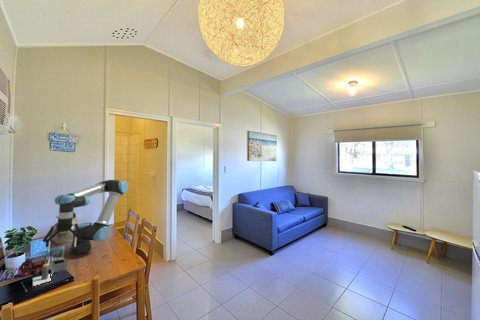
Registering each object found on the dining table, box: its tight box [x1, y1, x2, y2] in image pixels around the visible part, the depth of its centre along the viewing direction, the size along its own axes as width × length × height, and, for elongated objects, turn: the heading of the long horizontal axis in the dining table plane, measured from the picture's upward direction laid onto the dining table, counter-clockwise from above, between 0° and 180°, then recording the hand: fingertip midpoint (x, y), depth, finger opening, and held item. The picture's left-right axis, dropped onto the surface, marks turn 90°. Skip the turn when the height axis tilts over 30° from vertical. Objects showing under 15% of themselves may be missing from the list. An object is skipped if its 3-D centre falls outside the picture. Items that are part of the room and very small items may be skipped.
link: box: [49, 258, 68, 274], centre depth 132 cm, size 8×8×6 cm
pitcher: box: [49, 211, 80, 245], centre depth 181 cm, size 22×24×25 cm
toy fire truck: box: [17, 254, 47, 278], centre depth 128 cm, size 7×12×10 cm, turn 138°
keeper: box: [32, 262, 53, 287], centre depth 121 cm, size 10×10×10 cm
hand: (62, 248), depth 133 cm, fingers open, 13 cm apart
